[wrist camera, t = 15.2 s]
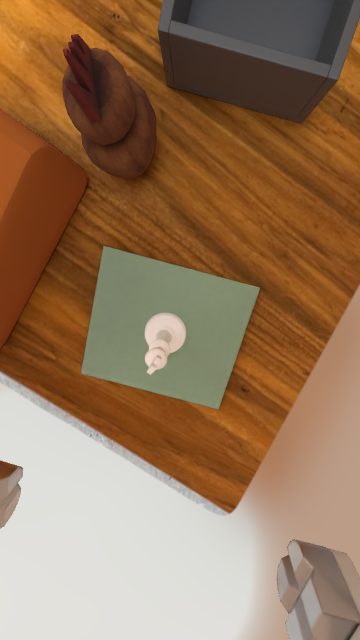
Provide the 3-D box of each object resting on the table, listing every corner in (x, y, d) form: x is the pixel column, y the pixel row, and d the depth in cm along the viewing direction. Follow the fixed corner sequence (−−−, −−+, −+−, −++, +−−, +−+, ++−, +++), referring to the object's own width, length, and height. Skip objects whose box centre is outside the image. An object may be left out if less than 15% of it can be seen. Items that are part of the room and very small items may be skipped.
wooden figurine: (150, 193, 28) (102, 132, 14) (98, 177, 28) (-6, 97, 14) (167, 122, 26) (134, -35, 12) (112, 104, 26) (10, -76, 12)
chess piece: (137, 338, 32) (112, 376, 22) (158, 304, 31) (141, 329, 21) (172, 359, 32) (162, 406, 22) (194, 326, 31) (194, 361, 21)
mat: (258, 287, 30) (260, 287, 29) (218, 407, 34) (218, 409, 34) (104, 245, 30) (103, 245, 29) (82, 371, 34) (80, 373, 33)
